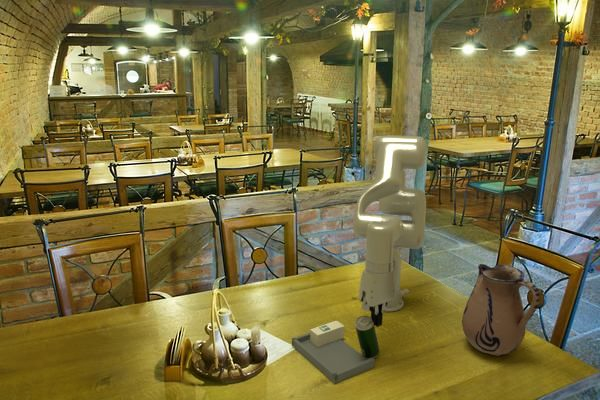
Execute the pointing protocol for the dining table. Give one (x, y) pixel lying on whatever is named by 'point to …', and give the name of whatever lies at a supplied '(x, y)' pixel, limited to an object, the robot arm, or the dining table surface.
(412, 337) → the dining table surface
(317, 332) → the block
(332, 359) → the slate tray
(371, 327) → the beer can
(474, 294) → the ceramic pitcher
